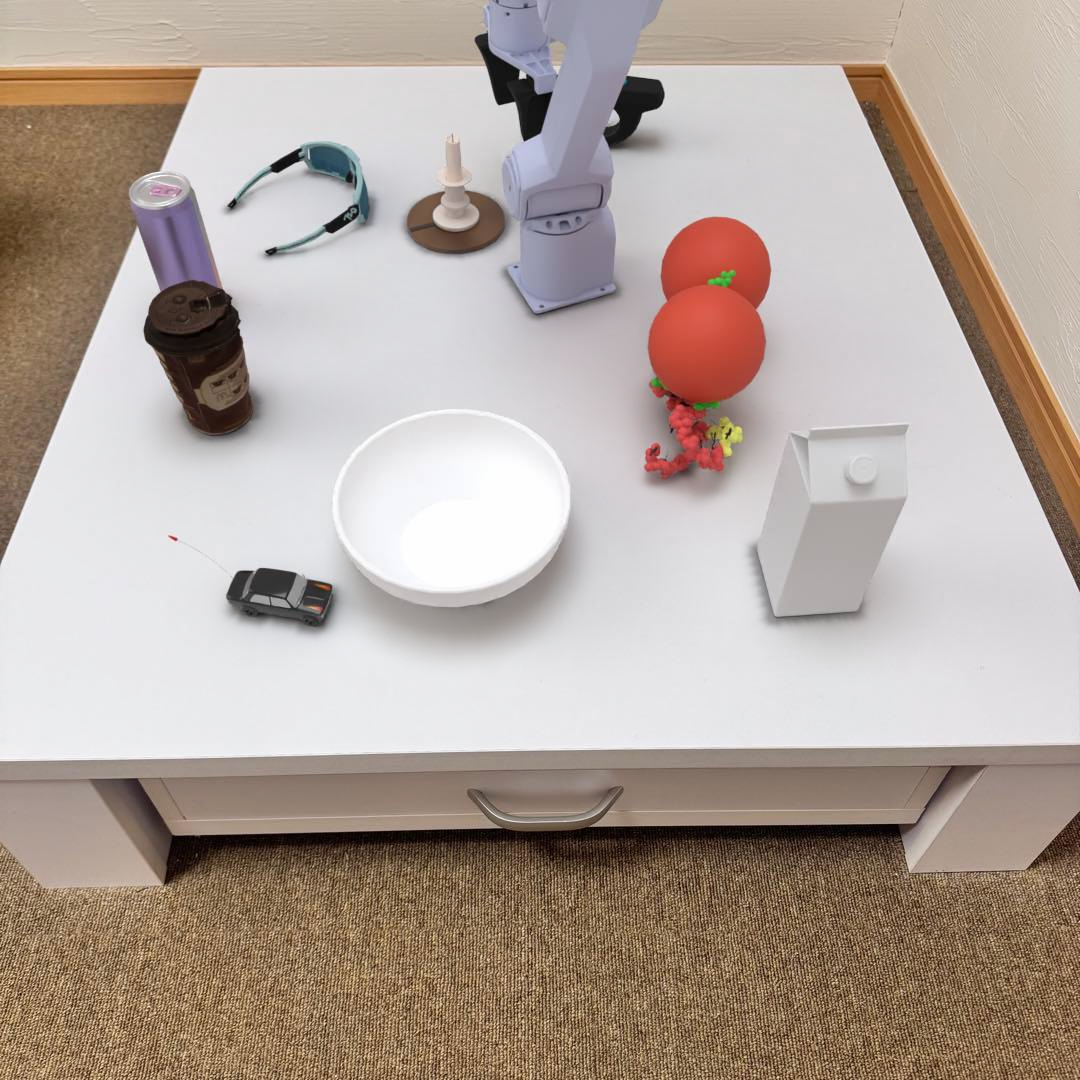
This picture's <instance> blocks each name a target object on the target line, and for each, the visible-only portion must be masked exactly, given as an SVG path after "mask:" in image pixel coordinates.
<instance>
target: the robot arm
mask: <svg viewBox="0 0 1080 1080" xmlns="http://www.w3.org/2000/svg"><path fill="white" fill-rule="evenodd" d="M663 1H664V0H489V1H488V2H489V4H485V5H483V24H484V25H485V27H486V28H487V30H486V32H485V33H481V34H477V35H476V36H475V37H474V43H475V45H476V46H477V48H478V50H479V52H480V54H481V57H482V59H483V61H484V65H485V67H486V71H487V73H488V77H489V81H490V87H491V90H492V94H493V98H494V100H495V103H496V105H498V106H504V105H508V104H512V103H515V106H516V111H517V115H518V122H519V129H520V135H521V138H522V141H523V142H520V143H519V144H517V145H515V146H514V147H512V150H511V153H508V154H507V155H506V157H505V159H504V161H503V162H502V167H501V179H502V188H503V196H504V200H505V203H506V207H507V210H508V213H509V214H510V216H511V217H512V218H513V219H515V221H517V222H519V239H520V244H519V246H520V262H518V263H515V264H511V265H509V266H507V269H506V271H507V273H508V275H509V277H510V278H511V279H512V281H513V283H514V285H515V286H516V288H517V289H518V291H519V292H520V294H521V295H522V297H523V298H524V299H525V302H526V303H527V304H528V306H529V308H530V309H531V311H532V312H533V313H534V314H536V315H537V314H542V313H545V312H546V313H547V312H549V311H553V310H556V309H560V308H563V307H566V306H570V305H573V304H577V303H581V302H585V301H588V300H591V299H594V298H599V297H603V296H605V295H606V296H607V295H609V294H614V293H615V292H616V290H617V289H616V288H617V287H616V285H615V284H614V273H615V272H614V271H615V257H616V243H617V235H616V234H617V233H616V227H615V221H614V218H613V217H614V216H613V214H612V211H611V210H610V208H609V206H608V202H609V201H610V198H611V195H612V189H613V188H612V186H613V185H612V181H613V177H614V173H615V172H614V171H615V170H614V163H613V158H612V155H611V149H610V147H609V145H608V144H607V142H606V140H605V137H604V135H603V133H604V130H605V128H606V127H607V125H608V123H609V120H610V118H611V116H612V113H613V111H614V109H613V108H614V106H615V103H616V101H617V99H618V96H619V94H620V91H621V89H622V86H623V84H624V82H625V79H626V77H627V76H628V75H629V72H630V69H631V66H632V63H633V60H634V56H635V53H636V50H637V46H638V42H639V40H640V37H641V33H642V31H644V30H645V29H646V28H647V26H649V25H650V24H651V23H652V22H654V21H655V20H656V18H657V16H658V13H659V11H660V9H661V7H662V4H663ZM556 42H559V43H560V44H563V45H564V46H565V51H564V53H563V57H562V60H561V64H560V67H559V70H558V72H557V71H556V70H555V67H554V66H553V61H552V51H551V45H550V44H552V43H556ZM521 71H522V72H523V73H524V74H525V77H523V78H520V74H521Z"/></svg>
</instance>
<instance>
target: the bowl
mask: <svg viewBox="0 0 1080 1080" xmlns="http://www.w3.org/2000/svg"><path fill="white" fill-rule="evenodd" d="M568 474H569V473H568V471H567V468H566V467H565V464H564V463H563V461H562V459H561V457H560V456H559V454H558V453H557V451H556V450H554V448H553V447H552V446H551V445H550V443H549V442H548V441H547V440H546V439H545V438H544V437H542V436H540V435H539V434H538V433H537V432H535V431H534V430H532V429H531V428H530V427H529V426H526V425H524V424H522V423H520V422H518V421H517V420H514V419H512V418H510V417H506V416H502V415H500V414H497V413H493V412H489V411H483V410H477V409H472V408H470V409H469V408H445V409H438V410H430V411H429V410H428V411H425V412H421V413H418V414H414V415H411V416H406V417H404V418H402V419H399V420H397V421H395V422H393V423H390V424H388V425H386V426H384V427H383V428H381V429H379V430H378V431H377V432H375V433H374V434H372V435H370V436H369V437H367V438H366V439H365V440H364V441H363V442H362V443H361V444H360V445H359V446H358V447H357V448H356V449H355V450H353V451H352V453H351V454H350V456H349V457H348V458H347V460H346V461H345V462H344V464H343V466H341V469H340V471H339V473H338V476H337V478H336V481H335V483H334V486H333V492H332V499H331V510H332V521H333V524H334V526H335V530H336V532H337V536H338V538H339V541H340V543H341V546H342V549H343V550H344V551H345V553H346V555H347V556H348V557H349V558H350V560H351V562H352V564H353V565H354V566H355V567H356V568H357V570H358V571H359V572H360V573H361V574H362V575H363V576H364V577H365V578H367V580H368V581H370V582H371V583H372V584H373V585H374V586H376V587H378V588H380V589H381V590H383V591H385V592H386V593H387V594H390V595H391V596H393V597H396V598H399V599H402V600H404V601H407V602H410V603H412V604H419V605H423V606H429V607H434V608H461V607H467V606H475V605H482V604H484V603H488V602H490V601H494V600H498V599H499V598H503V597H505V596H507V595H509V594H511V593H513V592H515V591H517V590H518V589H520V588H522V587H524V586H526V584H527V583H529V582H530V581H532V580H533V579H534V578H535V577H537V576H538V575H539V574H540V573H541V572H542V571H543V570H544V569H545V567H547V565H548V564H549V563H550V562H551V560H552V559H553V557H555V556H554V555H555V554H556V552H557V550H558V548H559V546H560V545H561V543H562V540H563V539H564V537H565V534H566V532H567V528H568V524H569V520H570V515H571V511H572V485H571V482H570V478H569V475H568Z"/></svg>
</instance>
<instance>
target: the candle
mask: <svg viewBox="0 0 1080 1080" xmlns="http://www.w3.org/2000/svg"><path fill="white" fill-rule="evenodd" d="M435 178H436V181H437V182H438V183H439V184H441V185H442V186H444V191H445V194H444V195H443V196H442V198H441V205H439V206H438V207H437V208H436V209H435V210H434V212H433V220H434V223H435V224H436V225H437V226H438V227H440V228H441V229H443V230H446V231H451V232H460V231H465V230H468V229H471V228H472V227H474V226H475V225H476V224H477V223H478V221H479V211H478V209H477V208H476V207H475V206H474V205H472V204H470V198H469V196H468V195H467V194H465V190H466V188H465V186H466V185H467V184H469V183H470V182H471V181H472V179H473V174H472V171H470V170H469V169H468V168H466V167H464V166H462V152H461V142H460V138H459V137H458V136H457V135H455V134H453V133H451V134H447V135H446V136H445V166H444V167H443V168H441V169H439V170H438V171H437V173H436V177H435Z"/></svg>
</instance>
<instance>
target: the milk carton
mask: <svg viewBox="0 0 1080 1080" xmlns="http://www.w3.org/2000/svg"><path fill="white" fill-rule="evenodd" d="M909 426H910V423H909V421H905V422H903V421H902V422H887V423H871V424H854V425H853V424H852V425H839V426H837V425H835V426H821V427H820V426H818V427H811V428H810V429H809V430H797V431H795V430H794V431H788V435H787V439H786V442H785V445H784V450H783V453H782V456H781V461H780V463H779V468H778V470H777V475H776V478H775V482H774V486H773V489H772V493H771V496H770V499H769V504H768V507H767V510H766V514H765V518H764V521H763V524H762V529H761V532H760V536H759V539H758V544H757V546H756V551H757V555H758V560H759V563H760V567H761V570H762V574H763V578H764V582H765V585H766V591H767V594H768V598H769V601H770V605H771V609H772V612H773V616H774V617H778V618H779V617H781V618H782V617H794V616H796V617H797V616H808V615H811V616H812V615H823V614H837V613H852V612H857V611H858V610H859V609H860V606H861V604H862V602H863V599H864V597H865V595H866V593H867V590H868V589H869V586H870V583H871V581H872V579H873V577H874V575H875V572H876V570H877V569H878V565H879V564H880V561H881V558H882V556H883V554H884V552H885V549H886V547H887V546H888V545H887V544H888V543H889V540H890V538H891V536H892V533H893V531H894V529H895V527H896V524H897V523H898V519H899V517H900V515H901V513H902V511H903V509H904V506H905V504H906V501H907V498H908V495H909V490H908V489H909V487H908V464H907V439H906V437H907V436H906V434H907V432H908V429H909Z"/></svg>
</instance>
